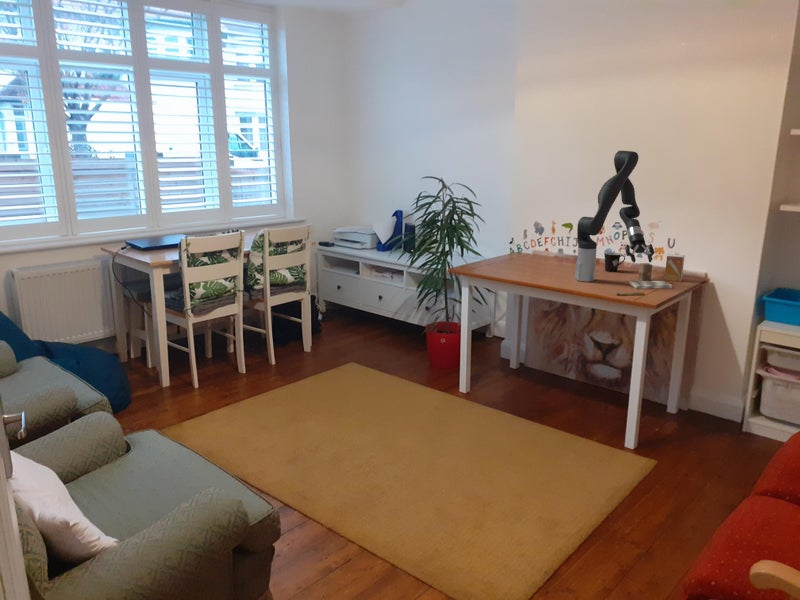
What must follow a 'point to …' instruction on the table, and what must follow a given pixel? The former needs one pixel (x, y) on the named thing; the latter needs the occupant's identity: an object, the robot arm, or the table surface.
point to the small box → (674, 267)
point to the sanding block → (645, 272)
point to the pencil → (631, 293)
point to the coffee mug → (612, 261)
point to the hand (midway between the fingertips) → (642, 261)
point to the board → (649, 284)
